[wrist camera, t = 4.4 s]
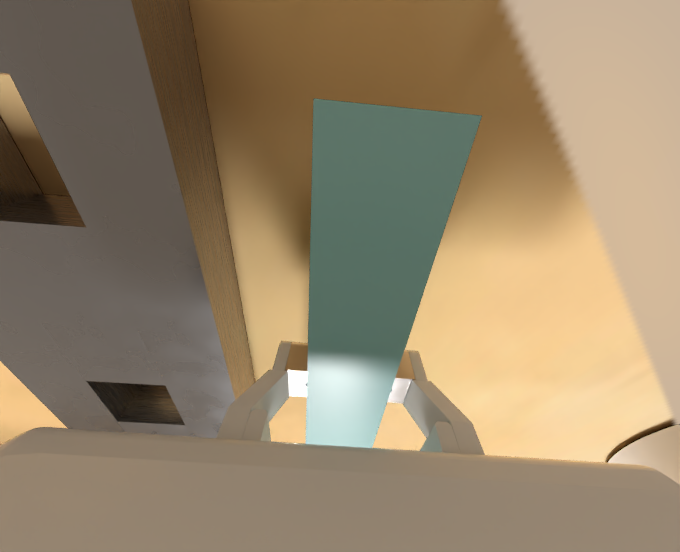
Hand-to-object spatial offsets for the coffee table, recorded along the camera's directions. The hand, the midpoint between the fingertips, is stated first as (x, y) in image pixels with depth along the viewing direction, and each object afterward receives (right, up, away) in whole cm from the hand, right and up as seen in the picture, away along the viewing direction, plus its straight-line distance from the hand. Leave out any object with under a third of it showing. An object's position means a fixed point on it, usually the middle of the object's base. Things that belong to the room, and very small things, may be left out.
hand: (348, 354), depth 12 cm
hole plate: (-12, +3, +2) cm, 13 cm away
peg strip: (0, +2, +3) cm, 3 cm away
